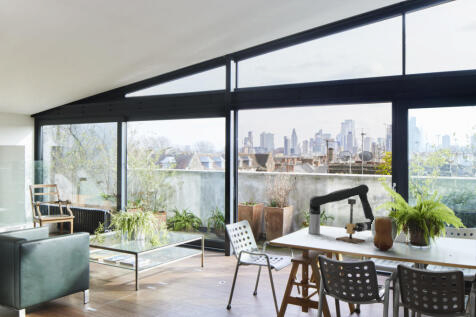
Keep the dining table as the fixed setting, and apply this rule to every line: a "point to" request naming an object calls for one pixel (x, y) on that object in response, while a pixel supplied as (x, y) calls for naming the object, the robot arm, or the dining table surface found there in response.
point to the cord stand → (350, 238)
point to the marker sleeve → (350, 228)
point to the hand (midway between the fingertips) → (349, 228)
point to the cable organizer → (401, 237)
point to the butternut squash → (383, 233)
